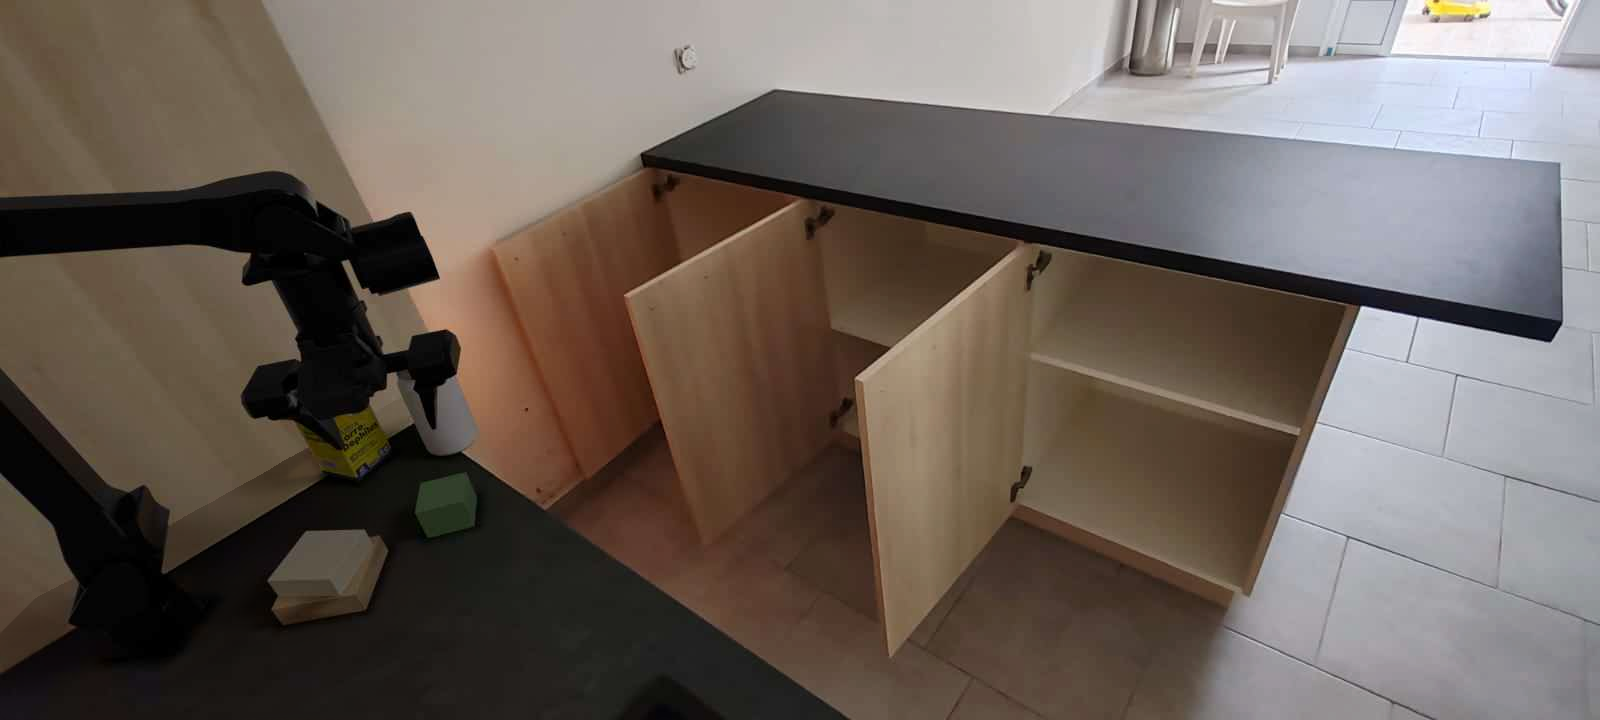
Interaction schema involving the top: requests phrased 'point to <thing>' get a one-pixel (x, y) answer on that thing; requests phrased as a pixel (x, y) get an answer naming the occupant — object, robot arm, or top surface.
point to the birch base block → (328, 606)
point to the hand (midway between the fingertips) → (388, 437)
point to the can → (441, 416)
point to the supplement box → (351, 446)
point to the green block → (446, 505)
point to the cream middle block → (321, 563)
